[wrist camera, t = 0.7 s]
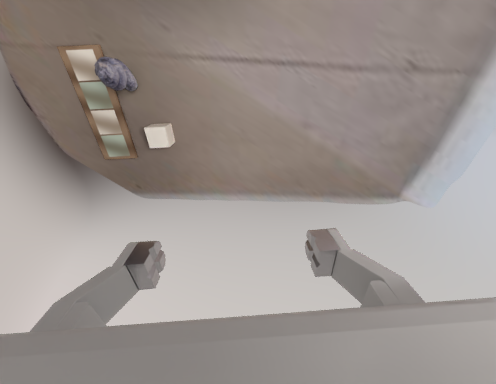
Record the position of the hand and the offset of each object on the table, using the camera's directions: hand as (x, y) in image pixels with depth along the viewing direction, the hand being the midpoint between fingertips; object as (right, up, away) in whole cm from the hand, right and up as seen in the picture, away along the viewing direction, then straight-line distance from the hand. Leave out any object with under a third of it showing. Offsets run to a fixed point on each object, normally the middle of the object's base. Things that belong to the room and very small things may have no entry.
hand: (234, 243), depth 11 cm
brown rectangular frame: (-32, +22, +33) cm, 51 cm away
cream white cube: (-20, +17, +36) cm, 44 cm away
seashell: (-24, +27, +30) cm, 47 cm away
